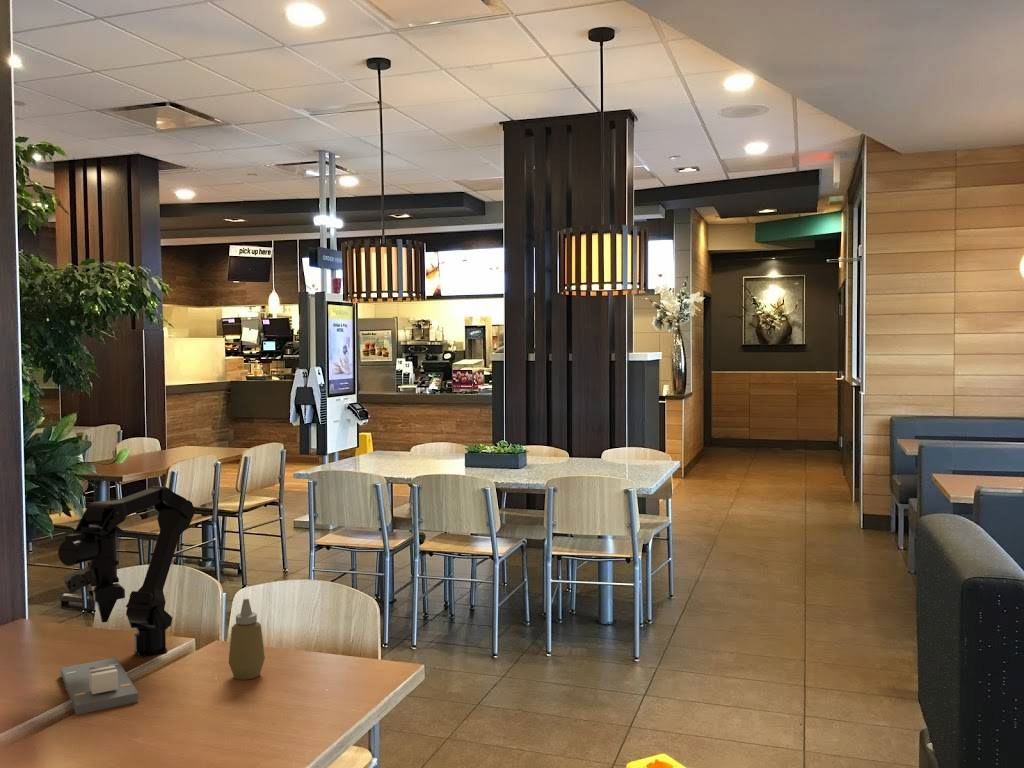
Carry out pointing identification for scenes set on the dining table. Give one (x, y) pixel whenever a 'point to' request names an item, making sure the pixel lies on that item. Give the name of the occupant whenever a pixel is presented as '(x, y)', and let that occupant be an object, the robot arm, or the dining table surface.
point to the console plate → (88, 702)
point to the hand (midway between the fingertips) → (104, 621)
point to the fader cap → (103, 679)
